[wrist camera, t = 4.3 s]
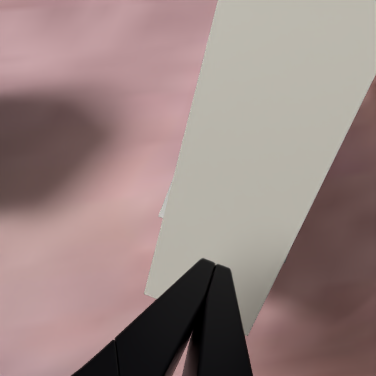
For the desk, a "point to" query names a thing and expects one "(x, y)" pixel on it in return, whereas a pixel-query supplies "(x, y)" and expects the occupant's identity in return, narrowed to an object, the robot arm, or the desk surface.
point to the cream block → (262, 137)
